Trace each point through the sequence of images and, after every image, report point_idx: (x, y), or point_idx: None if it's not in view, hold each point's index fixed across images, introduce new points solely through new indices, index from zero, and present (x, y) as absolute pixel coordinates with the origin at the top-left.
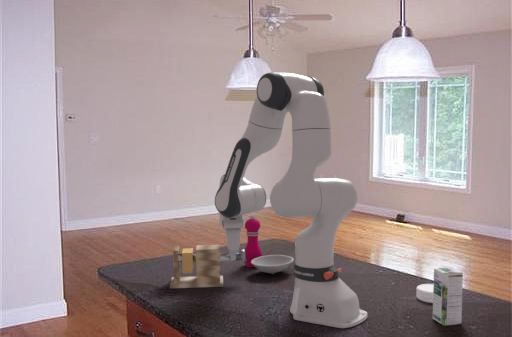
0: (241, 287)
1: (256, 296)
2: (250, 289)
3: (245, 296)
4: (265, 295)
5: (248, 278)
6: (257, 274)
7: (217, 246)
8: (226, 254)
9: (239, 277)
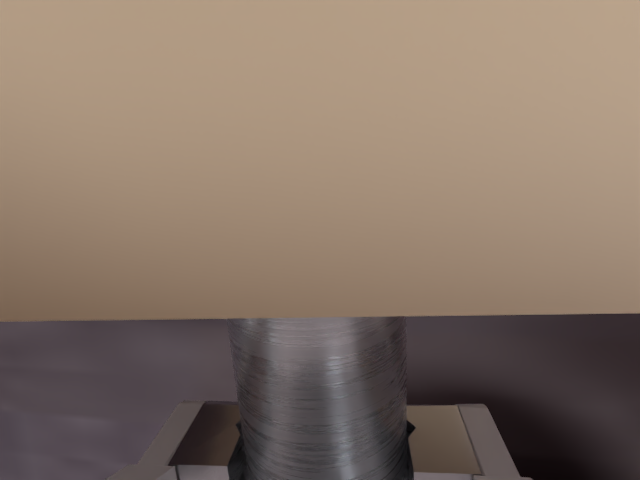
0: (198, 335)
1: (17, 414)
2: (155, 391)
3: (5, 352)
4: (44, 462)
5: (440, 397)
6: (550, 468)
7: (333, 195)
8: (248, 387)
9: (483, 330)
